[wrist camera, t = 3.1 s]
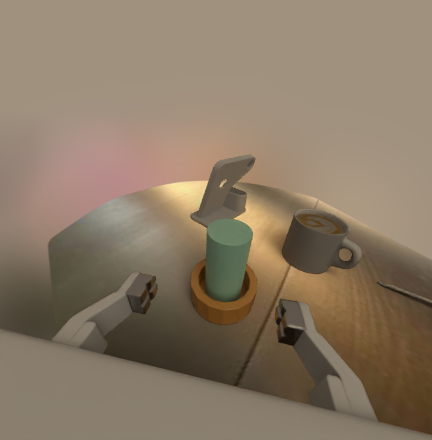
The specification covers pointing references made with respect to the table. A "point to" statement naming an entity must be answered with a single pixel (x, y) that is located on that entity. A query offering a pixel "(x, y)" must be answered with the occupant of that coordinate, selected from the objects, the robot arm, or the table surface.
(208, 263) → the can
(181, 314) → the table surface
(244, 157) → the phone holder
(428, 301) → the screwdriver
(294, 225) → the coffee mug
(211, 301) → the holder
